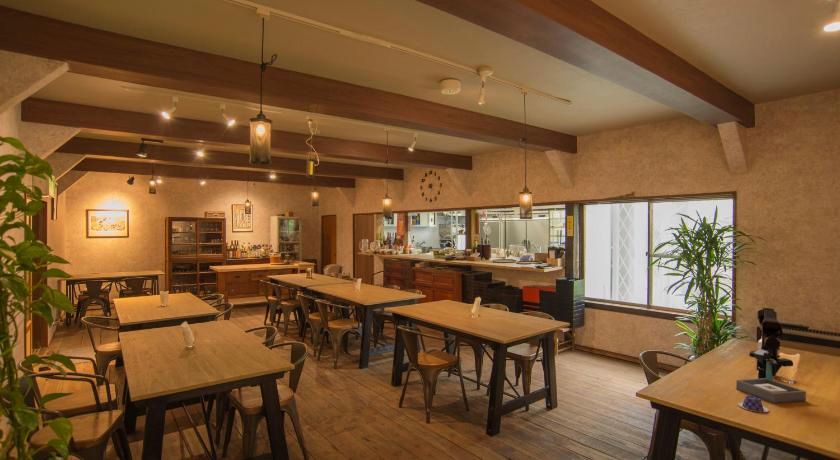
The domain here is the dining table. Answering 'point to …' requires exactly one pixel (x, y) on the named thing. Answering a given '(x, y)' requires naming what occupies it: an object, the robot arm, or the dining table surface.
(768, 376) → the peg
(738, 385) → the box
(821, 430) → the dining table surface
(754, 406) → the checkered hat
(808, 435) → the dining table surface
